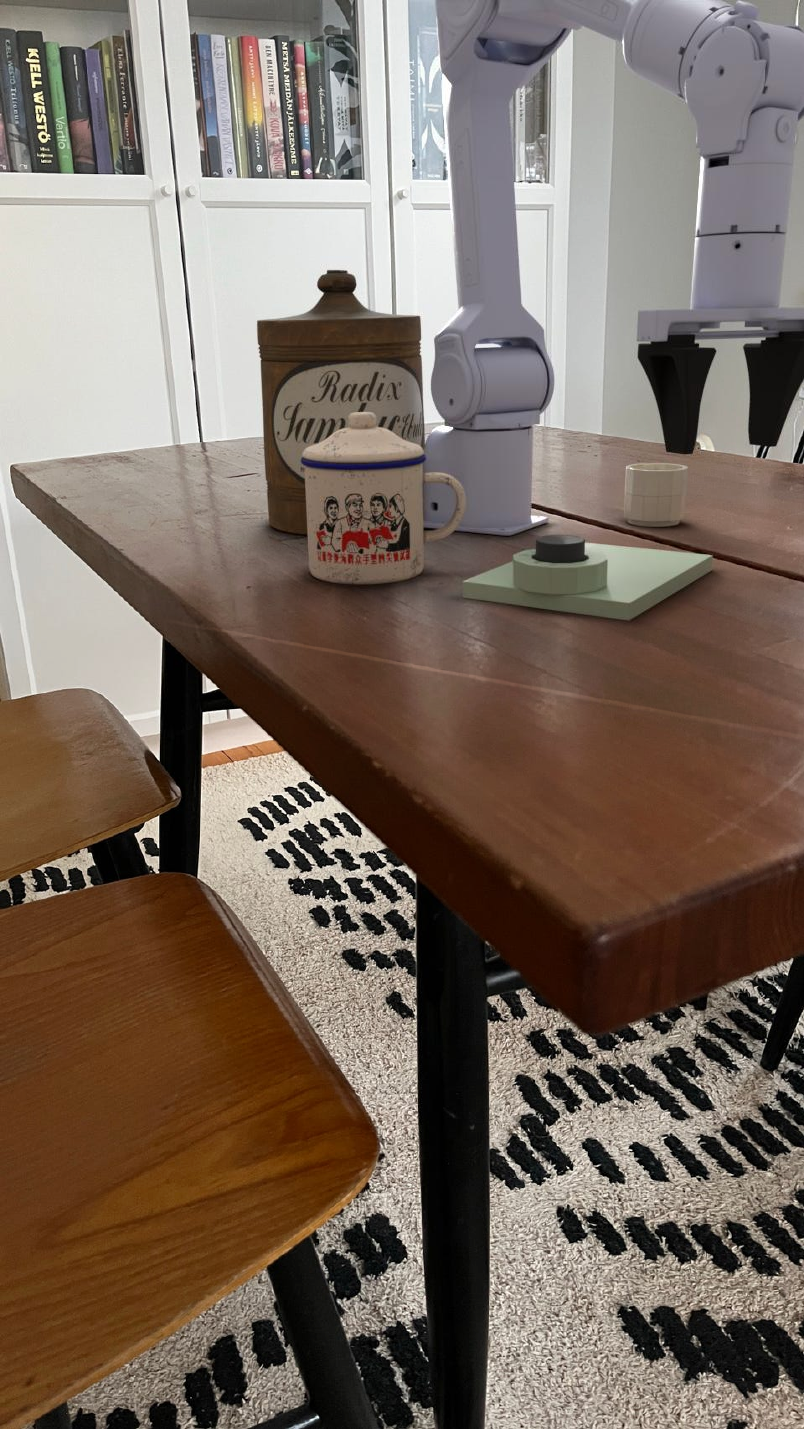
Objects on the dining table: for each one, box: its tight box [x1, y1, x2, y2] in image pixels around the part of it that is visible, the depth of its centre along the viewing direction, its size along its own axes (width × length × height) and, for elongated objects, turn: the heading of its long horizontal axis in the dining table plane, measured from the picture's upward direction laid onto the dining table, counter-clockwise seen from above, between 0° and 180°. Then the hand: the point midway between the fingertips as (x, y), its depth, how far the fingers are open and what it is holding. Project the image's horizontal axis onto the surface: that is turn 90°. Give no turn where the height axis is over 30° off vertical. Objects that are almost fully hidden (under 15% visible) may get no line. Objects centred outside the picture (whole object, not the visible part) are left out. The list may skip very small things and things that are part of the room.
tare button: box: [535, 534, 586, 563], centre depth 70 cm, size 3×3×2 cm
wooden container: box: [256, 269, 426, 536], centre depth 96 cm, size 15×15×22 cm
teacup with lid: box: [301, 412, 466, 586], centre depth 78 cm, size 12×9×12 cm
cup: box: [622, 462, 689, 528], centre depth 96 cm, size 5×6×5 cm
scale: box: [461, 541, 714, 621], centre depth 74 cm, size 16×12×3 cm
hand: (721, 449), depth 74 cm, fingers open, 7 cm apart
